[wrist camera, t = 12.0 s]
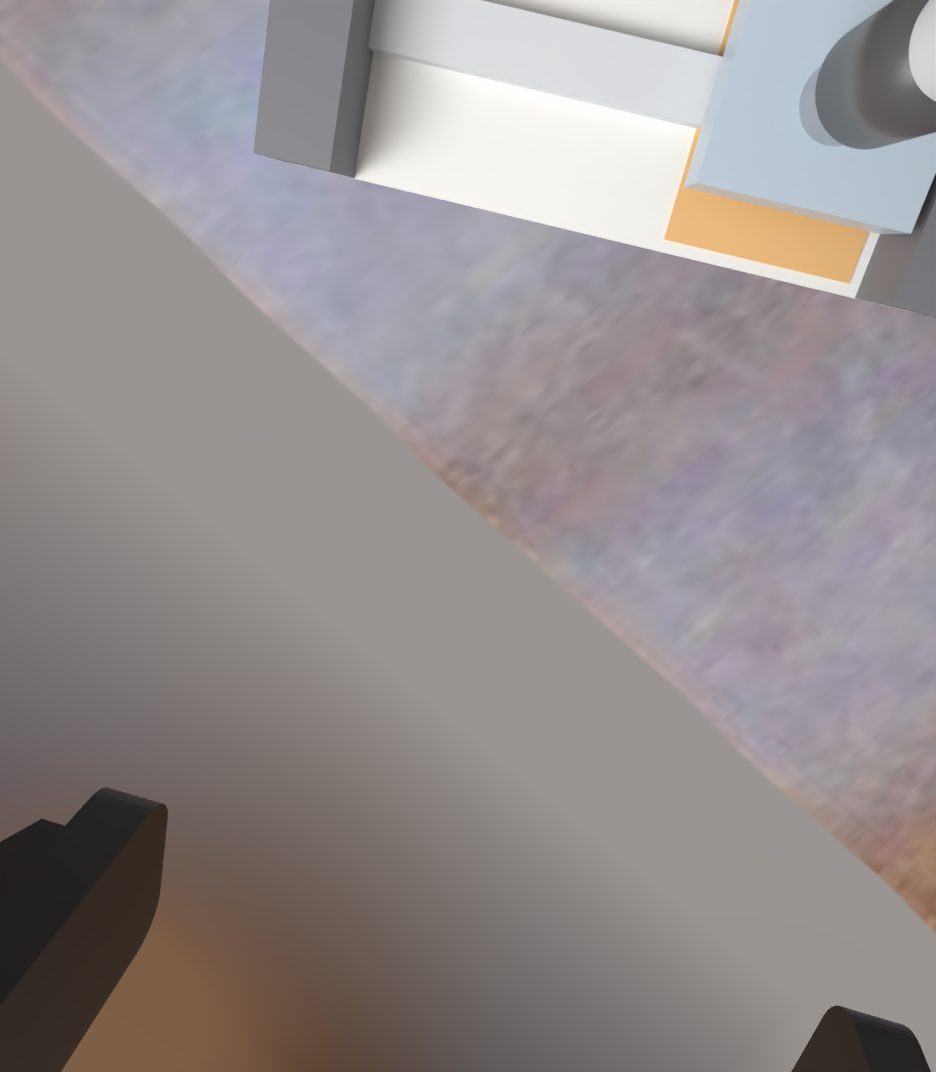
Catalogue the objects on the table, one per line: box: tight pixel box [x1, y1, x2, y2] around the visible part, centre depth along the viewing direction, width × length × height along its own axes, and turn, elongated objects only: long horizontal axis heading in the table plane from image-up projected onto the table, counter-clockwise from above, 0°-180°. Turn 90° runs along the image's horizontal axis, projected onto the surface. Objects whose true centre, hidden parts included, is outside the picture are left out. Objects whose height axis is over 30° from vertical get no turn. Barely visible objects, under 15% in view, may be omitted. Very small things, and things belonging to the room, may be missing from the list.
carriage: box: [684, 0, 936, 234], centre depth 22 cm, size 8×7×17 cm
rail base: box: [254, 0, 936, 317], centre depth 30 cm, size 28×12×6 cm, turn 77°
